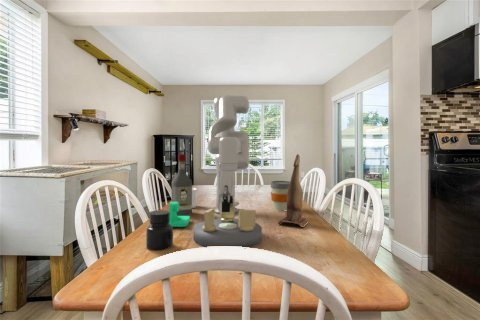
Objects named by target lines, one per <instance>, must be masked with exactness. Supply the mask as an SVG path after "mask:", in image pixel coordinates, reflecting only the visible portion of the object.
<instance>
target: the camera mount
mask: <svg viewBox="0 0 480 320" xmlns="http://www.w3.org/2000/svg"><path fill="white" fill-rule="evenodd" d="M168 211H169V212H170V222H169V224H170V225H171V226H172V227H173V228H174V227H175V228H177V227H178V228H179V227H180V228H182V227H188V225H189V224H190V220H191V216H190V215H185V216H177V212H178V211H179V202H172V201H170V202H169V207H168Z"/></svg>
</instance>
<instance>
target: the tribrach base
mask: <svg viewBox="0 0 480 320" xmlns="http://www.w3.org/2000/svg"><path fill="white" fill-rule="evenodd" d="M203 215H204V216H203V217H204V221H200V222H199V223H198V222H197V223H196V224H195V225H194V226H193V241H194V243H195V244H197V245H199V246H201V247H204V248H207V246H242V247H249V248H252V247H254V246H257V245H258V244H260V243H261V242H262V239H263V238H262V237H263V236H262V233H263V231H262V229H263V227H262V225H260V224H259V223H257V222H256V209H239V210H238V218H235V219H233V222H229V223H225V222H222V221H221V218H215V212H214V208H209V209H207V210H205V211H204V214H203Z"/></svg>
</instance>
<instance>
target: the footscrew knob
mask: <svg viewBox="0 0 480 320" xmlns="http://www.w3.org/2000/svg"><path fill="white" fill-rule="evenodd" d="M235 208H236V206H235V203H230V212H222V203H220V213H219V219H221V221H222V222H225V223H229V222H233V219H236V217H235V216H236V213H235Z"/></svg>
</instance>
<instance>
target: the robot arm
mask: <svg viewBox="0 0 480 320" xmlns="http://www.w3.org/2000/svg"><path fill="white" fill-rule="evenodd" d="M249 103H250V102H249V98H248V97H247V96H245V95H223V96H217V97H215V98H214V100H213V110H214V114H215V116H216V119H217V120H216V121H215V122H214V123H212V126H210V128H209V130H208V133H207V134H208V135H207V150H208V152H209V153H210V154H211V155H215V158H214V159H215V169H216V207H214V208H213V209H214V213H217V214H220V203H222V212H230V203H235V214H236V213H238V208H237V206H239V205H240V202H239V201H236V199H235V197H236V178H235V173H236V172H238V170H241V171H242V170H246V169H248V168H249V164H250V147H249V146H250V143H249V135H248V133H247V132H245V131H242V130H241V131H239V130H237V131H236V129H235V127H236V125H237V122H238V119H237V118H238V116H237V115H238V114H242V115H243V114H247V113H248V112H249V108H250V104H249Z"/></svg>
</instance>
